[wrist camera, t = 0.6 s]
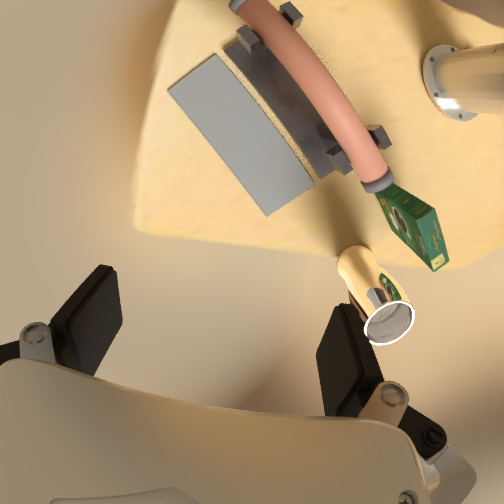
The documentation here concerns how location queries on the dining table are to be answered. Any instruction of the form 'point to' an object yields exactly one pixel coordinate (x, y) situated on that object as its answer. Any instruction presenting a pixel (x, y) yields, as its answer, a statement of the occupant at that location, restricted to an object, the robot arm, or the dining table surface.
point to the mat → (241, 135)
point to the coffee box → (414, 224)
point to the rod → (318, 90)
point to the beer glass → (375, 296)
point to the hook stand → (293, 100)
